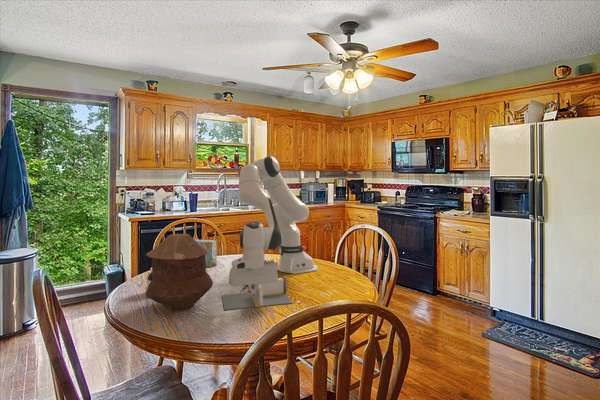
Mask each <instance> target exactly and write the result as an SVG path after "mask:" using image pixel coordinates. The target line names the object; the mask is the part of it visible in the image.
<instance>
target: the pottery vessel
mask: <svg viewBox="0 0 600 400" xmlns="http://www.w3.org/2000/svg"><path fill="white" fill-rule="evenodd" d="M194 239H195V238H193V237H192V235H190V234H188V233H176V234H175V233H173V234H169V235H167V236H166V237H165V238H164V239H163V240H162V241H160V242H159V244H158V245H157V246H156V247H154V248H153V249H152V250H150V251H149V252H147V253H146V254H145V256H146V257H149V258H150V259H151V268H152V281H151V282H150V284H149V285H148V288H147V287H146V293H145V294H146V296H147V298H148V299H150V300H151V301H154V302H155V303H157V304H160V305H162V306H165V307H168V308H170V310H171V311H174V312H185V311H188V310H190V309H192V308H194V307H195V305H196V304H197V303H198V302H199V301H200V300H201V299H202V298H203V297H204V296H205V295H206V294H207V293H208V292H210V290H211V289H212V287H213V284H214V281H213V279H212V277H211V276H210V275H209V273H208V272H207V269H206V268H207V267H206V262H205V254H207V253H208V251H207V250H206V249H205V248H203V247H202V246H200V245H199V244H198V243H197V242H196V241H195V240H194Z"/></svg>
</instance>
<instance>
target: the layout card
mask: <svg viewBox="0 0 600 400" xmlns="http://www.w3.org/2000/svg"><path fill="white" fill-rule="evenodd" d="M221 297H222V305H223V309H224V311H233V310H243V309H253V308H254V307H255V308H262V307H263V308H264V307H274V306H281V305H291V304H293V301H292V299H290V297H289V296H288V295H287V292H286V293H283V292H282V293H271V294H263V305H259V303H258V301H257V300H256V298H255V296H253V295H251V291H250V292H249V291H248V292H235V293H226V294H221Z"/></svg>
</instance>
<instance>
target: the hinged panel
mask: <svg viewBox="0 0 600 400" xmlns="http://www.w3.org/2000/svg"><path fill="white" fill-rule="evenodd" d="M255 287H256V285H255V284H254V289H255ZM254 296H255V298H256V300H257V301H258V303H259V305H263V289H262V288H261V286H260V285H259V288H258V290H257V295H254Z"/></svg>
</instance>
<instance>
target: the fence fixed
mask: <svg viewBox="0 0 600 400" xmlns="http://www.w3.org/2000/svg"><path fill="white" fill-rule="evenodd" d="M259 285H260V286H261V288H262V289H263V294H271V293H282V292H283V293H286V294H287V276H285V275H283V276H282V277H280V278H279V277H278V280H277V282H274V283H264V284H259ZM252 290H254V285H252ZM253 296H254V295H253Z"/></svg>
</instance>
